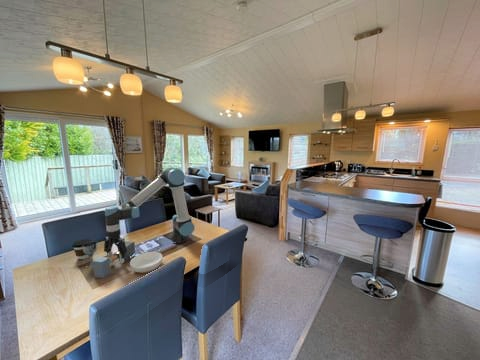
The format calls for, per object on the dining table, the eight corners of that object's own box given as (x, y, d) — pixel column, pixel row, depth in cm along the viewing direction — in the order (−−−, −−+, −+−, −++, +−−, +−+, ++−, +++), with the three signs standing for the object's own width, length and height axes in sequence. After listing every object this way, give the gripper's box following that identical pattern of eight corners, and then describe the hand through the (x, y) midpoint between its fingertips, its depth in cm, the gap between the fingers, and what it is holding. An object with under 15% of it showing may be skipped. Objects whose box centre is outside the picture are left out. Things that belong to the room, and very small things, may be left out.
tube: (127, 249, 144) (127, 244, 143) (132, 249, 143) (132, 244, 142) (106, 263, 125) (105, 257, 124) (111, 264, 124) (110, 258, 124)
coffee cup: (96, 255, 143) (94, 240, 141) (79, 263, 133) (77, 247, 131) (87, 252, 147) (86, 237, 146) (70, 259, 138) (68, 243, 136)
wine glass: (102, 262, 134) (100, 242, 132) (90, 268, 127) (87, 247, 125) (94, 260, 137) (92, 240, 135) (81, 266, 129) (79, 245, 127)
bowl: (132, 263, 134) (131, 255, 133) (162, 257, 141) (162, 249, 140) (128, 280, 116) (127, 270, 115) (163, 272, 124) (163, 263, 123)
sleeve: (127, 254, 145) (126, 241, 143) (135, 255, 144) (134, 241, 142) (118, 260, 137) (117, 246, 136) (127, 261, 136) (126, 247, 134)
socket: (101, 272, 124) (99, 256, 122) (110, 273, 122) (109, 257, 121) (94, 277, 119) (92, 260, 117) (103, 278, 117) (102, 262, 116)
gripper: (131, 228, 129) (134, 260, 133) (104, 226, 133) (107, 257, 136) (123, 233, 122) (125, 266, 125) (94, 230, 126) (98, 263, 129)
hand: (116, 261), depth 131 cm, fingers open, 8 cm apart
